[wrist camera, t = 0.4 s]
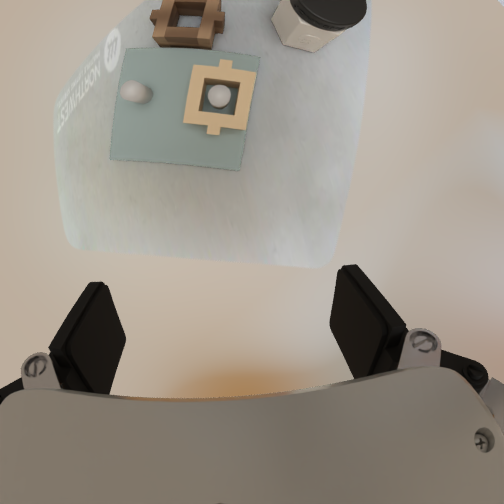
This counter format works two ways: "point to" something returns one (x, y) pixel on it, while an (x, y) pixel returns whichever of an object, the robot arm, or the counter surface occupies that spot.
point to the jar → (315, 21)
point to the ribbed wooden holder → (169, 35)
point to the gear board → (183, 107)
